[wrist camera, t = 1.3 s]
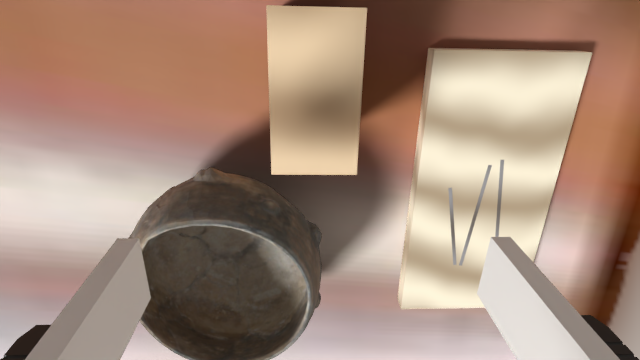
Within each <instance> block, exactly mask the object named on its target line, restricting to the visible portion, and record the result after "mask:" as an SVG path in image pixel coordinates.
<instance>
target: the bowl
mask: <svg viewBox="0 0 640 360" xmlns="http://www.w3.org/2000/svg"><path fill="white" fill-rule="evenodd" d="M130 238H139V240H140V245H141V250H142V255H143V260H144V265H145V270H146V275H147V281H148V286H149V291H150V296H151V299H150V301H149V303H148V305H147V307H146V309H145V311H144V313H143V315H142V317H141V319H140V322H141V324H142V325H143V326H144V327H145V328H146V330H147V331H148V332H149V333H150V334H151V335H152V336H153V337H154V338H155V339H157V340H158V341H159V342H160V343H161V344H163V345H164V346H165V347H167V348H168V349H170V350H171V351H173V352H174V353H176V354H178V355H180V356H182V357H184V358H186V359H189V360H270V359H272V358H274V357H276V356H278V355H279V354H281V353H282V352H284V351H285V350H286V349H288V348H289V347H290V346H291V345H292V344H293V343H294V342H295V341H296V340H297V339H298V338H299V337H300V335H301V334H302V333H303V331H304V330H305V328H306V326H307V324H308V322H309V321H310V319H311V317H312V315H313V312H314V309H315V308H317V307H318V306H319V304H320V300H321V296H320V293H319V289H320V281H321V261H320V253H319V247H318V246H319V243H320V240H321V232H320V230H319V228H318V227H317V226H316V225H315V224H313V223H311V222H309V221H307V220H306V219H305V217H304V216H303V214H302V213H301V212H300V211H299V210H298V209H296V208H295V207H294V206H293V205H292V204H291V203H290V202H289V201H287V200H286V199H285V198H284V197H283V196H281V195H280V194H278V193H277V192H276V191H275V190H274V189H273V188H271V187H270V186H268V185H266V184H264V183H262V182H260V181H258V180H255V179H252V178H249V177H246V176H241V175H237V174H228V173H224V172H222V171H219V170H217V169H214V168H212V167H211V168H208V169H207V170H200V171H199V172H198V173H197V175H196V176H195V177H193V178H191V179H189V180H187V181H185V182H183V183H181V184H179V185H177V186H176V187H172V188H170V189H169V190H167V191H166V192H165V193H164V194H163V195H162V196H160V197H159V198H158V199H157V200H156V201H154V202H153V203H152V204H151V205H150V206H149V207H148V209H147V210H146V211H145V213H144V214H143V215H142V217H141V218H140V220H139V221H138V223H137V225H136V227H135V229H134V231H133V232H132V234H131V235H130V237H129V238H128V239H130Z"/></svg>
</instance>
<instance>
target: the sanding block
mask: <svg viewBox="0 0 640 360" xmlns="http://www.w3.org/2000/svg"><path fill="white" fill-rule="evenodd" d="M266 7H267V42H268V76H269V110H270V145H271V175H357V162H358V146H359V130H360V115H361V99H362V83H363V67H364V51H365V35H366V19H367V8H354V7H313V6H273V5H266Z"/></svg>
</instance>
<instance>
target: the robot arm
mask: <svg viewBox="0 0 640 360" xmlns="http://www.w3.org/2000/svg"><path fill="white" fill-rule="evenodd" d="M477 295H478V296H479V298H480V300H481V301H482V303H483V305H484V306H485V308H486V310H487V311H488V313H489V315H490V316H491V318H492V319H493V321H494V323H495V324H496V326H497V328H498V329H499V331H500V333H501V334H502V336H503V338H504V339H505V341H506V343H507V344H508V346H509V348H510V349H511V351H512V353H513V354H514V356H515V357H516V359H517V360H639V359H638V358H637V357H634V354H633V353H632V352H631V351H630V350H629V348H628V347H627V346H626V345H623V344H622V341H621V340H620V339H619V338H618V337H617V336H616V335H615V334H614V333H613V332H612V331H611V329H610V328H609V327H607V326H606V325H604V324H603V323H601V322H600V321H598V320H597V319H595V318H594V317H593V316H591V315H580V314H579V313H578V312H577V311H576V310H575V309H574V308H573V306H572V305H571V304H570V303H569V302H568V301H567V300H566V299H565V297H564V296H563V295H562V294H561V293H560V292H559V291H558V290H557V288H556V287H555V286H554V285H553V284H552V283H551V282H550V281H549V280H548V278H547V277H546V276H545V275H544V274H543V273H542V272H541V271H540V269H539V268H538V267H537V266H536V265H535V264H534V263H533V262H532V260H531V259H530V258H529V257H528V256H527V255H526V254H525V253H524V252H523V250H522V249H521V248H520V247H519V246H518V245H517V244H516V243H515V241H514V240H513V239H512V238H511V237H491V238H490V243H489V247H488V251H487V255H486V259H485V263H484V267H483V271H482V275H481V279H480V283H479V287H478V291H477ZM150 299H151V296H150V291H149V286H148V281H147V275H146V270H145V265H144V260H143V255H142V250H141V245H140V240H139V238H130V239H117V240H116V241H115V243H114V244H113V245H112V246H111V248H110V249H109V250H108V252H107V253H106V254H105V256H104V257H103V258H102V259H101V261H100V262H99V263H98V265H97V266H96V267H95V269H94V270H93V271H92V273H91V274H90V275H89V276H88V278H87V279H86V280H85V282H84V283H83V284H82V286H81V287H80V288H79V290H78V291H77V292H76V293H75V295H74V296H73V297H72V299H71V300H70V301H69V303H68V304H67V305H66V307H65V308H64V309H63V310H62V312H61V313H60V314H59V316H58V317H57V318H56V320H55V321H54V322H53V323H52V325H36V326H35V327H33V328H32V329H31V330H29V331H28V332H26V333H25V334H24V335H22V336H21V337H20V338H18V339H17V340H16V342H15V343H14V344H13V345H12V346H11V348H10V349H9V350H8V351H7V352H6V354H5V355H4V358H3V359H1V360H120V359H121V357H122V355H123V353H124V351H125V349H126V347H127V345H128V343H129V341H130V339H131V337H132V335H133V333H134V331H135V329H136V327H137V325H138V323H139V321H140V319H141V317H142V315H143V313H144V311H145V309H146V307H147V305H148V303H149V301H150Z"/></svg>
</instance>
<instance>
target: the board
mask: <svg viewBox="0 0 640 360" xmlns="http://www.w3.org/2000/svg"><path fill="white" fill-rule="evenodd" d="M591 55H592V52H585V51H566V50H514V49H463V48H428V55H427V63H426V71H425V79H424V87H423V96H422V104H421V112H420V120H419V128H418V136H417V144H416V152H415V160H414V168H413V177H412V185H411V193H410V201H409V209H408V217H407V225H406V233H405V241H404V249H403V258H402V266H401V274H400V282H399V290H398V298H397V299H398V302H399V305H400V308H401V309H437V308H485V306H484V305H483V303H482V301H481V300H480V298H479V296H478V295H477V291H478V287H479V283H480V279H481V275H482V271H483V267H484V263H485V259H486V255H487V251H488V247H489V243H490V238H491V237H511V238H512V239H513V240H514V241H515V243H516V244H517V245H518V246H519V247H520V248H521V249H522V250H523V252H524V253H525V254H526V255H527V256H528V257H529V258H530V259H531V260H532V262H534V259H535V255H536V252H537V248H538V245H539V241H540V237H541V234H542V230H543V227H544V223H545V220H546V216H547V212H548V209H549V205H550V202H551V198H552V195H553V191H554V187H555V184H556V180H557V177H558V173H559V170H560V166H561V162H562V159H563V155H564V152H565V148H566V145H567V141H568V138H569V134H570V130H571V127H572V123H573V120H574V116H575V113H576V109H577V105H578V102H579V98H580V95H581V91H582V88H583V84H584V80H585V77H586V73H587V70H588V66H589V63H590V59H591Z"/></svg>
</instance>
